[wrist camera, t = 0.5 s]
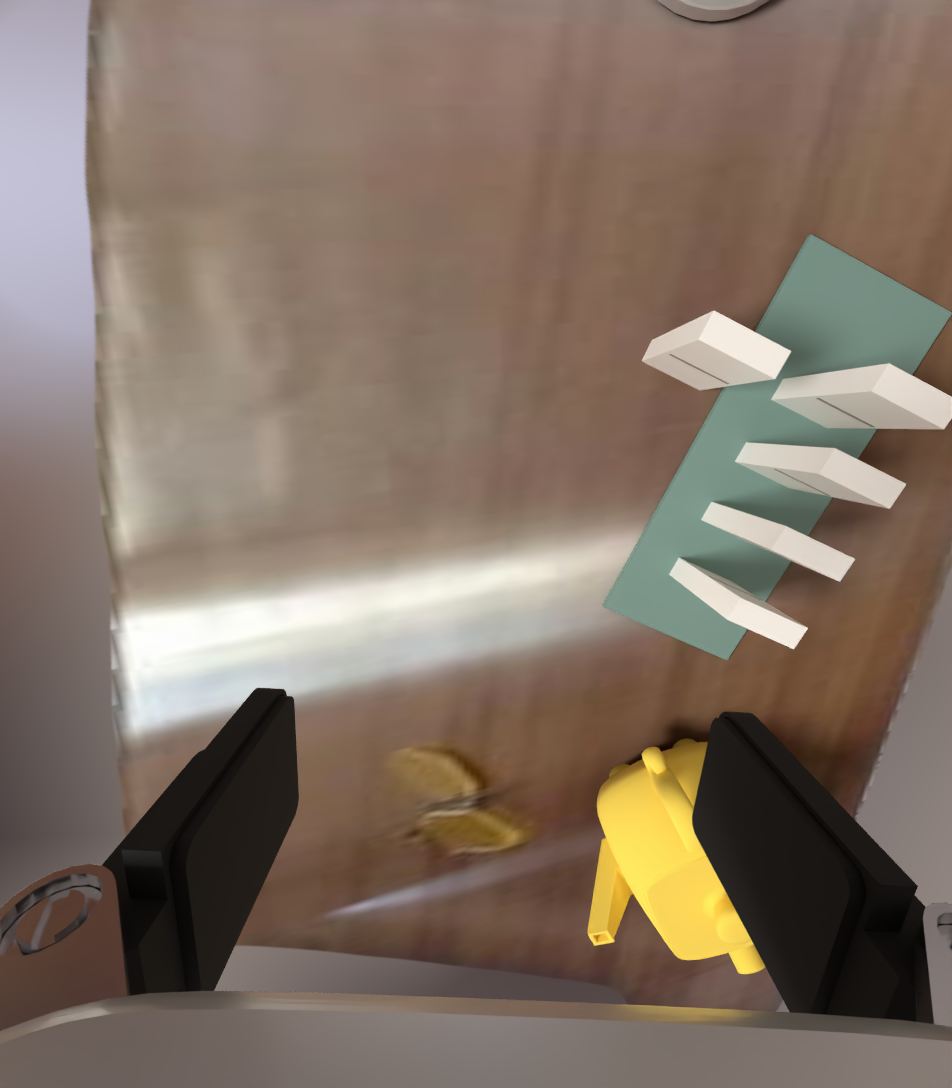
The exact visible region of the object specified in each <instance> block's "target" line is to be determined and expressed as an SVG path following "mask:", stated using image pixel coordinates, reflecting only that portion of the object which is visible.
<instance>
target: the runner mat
mask: <svg viewBox="0 0 952 1088" xmlns="http://www.w3.org/2000/svg"><path fill="white" fill-rule="evenodd" d="M951 314H952V312H950V311H948V310H946V309H944V308H943V307H941V306H939V305H937V304H935V303H934V302H932V301H930V300H928V299H926V298H925V297H923V296H921V295H919V294H918V293H916V292H914V291H912V290H910V289H909V288H907V287H905V286H903V285H901V284H900V283H898V282H896V281H894V280H892V279H891V278H889V277H887V276H885V275H883V274H882V273H880V272H878V271H876V270H874V269H873V268H871V267H869V266H867V265H866V264H864V263H862V262H860V261H858V260H857V259H855V258H853V257H851V256H849V255H848V254H846V253H844V252H842V251H840V250H839V249H837V248H835V247H833V246H831V245H830V244H828V243H826V242H824V241H823V240H821V239H819V238H817V237H815V236H814V235H812V234H811V235H809V236H808V237H807V238H806V240H805V242H804V244H803V245H802V247H801V249H800V251H799V253H798V254H797V256H796V258H795V260H794V262H793V263H792V265H791V267H790V269H789V271H788V272H787V274H786V276H785V278H784V280H783V281H782V283H781V285H780V287H779V289H778V290H777V292H776V294H775V296H774V298H773V300H772V301H771V303H770V305H769V307H768V309H767V310H766V312H765V314H764V316H763V318H762V319H761V321H760V323H759V325H758V327H757V328H756V330H755V332H756V333H758V334H760V335H761V336H763V337H765V338H767V339H769V340H771V341H773V342H775V343H777V344H779V345H781V346H782V347H784V348H786V349H788V350H790V351H791V353H790V355H789V356H788V358H787V360H786V361H785V363H784V365H783V367H782V368H781V370H780V372H779V374H778V375H777V377H776V379H773V380H766V381H759V382H753V383H746V384H739V385H733V386H726V387H724V388H723V390H722V391H721V393H720V395H719V397H718V399H717V400H716V402H715V404H714V406H713V408H712V409H711V411H710V413H709V415H708V417H707V418H706V420H705V422H704V424H703V426H702V427H701V429H700V431H699V433H698V435H697V436H696V438H695V440H694V442H693V444H692V445H691V447H690V449H689V451H688V453H687V454H686V456H685V458H684V460H683V462H682V463H681V465H680V467H679V469H678V471H677V472H676V474H675V476H674V478H673V480H672V481H671V483H670V485H669V487H668V489H667V490H666V492H665V494H664V496H663V498H662V499H661V501H660V503H659V505H658V507H657V508H656V510H655V512H654V514H653V516H652V517H651V519H650V521H649V523H648V525H647V526H646V528H645V530H644V532H643V534H642V535H641V537H640V539H639V541H638V543H637V544H636V546H635V548H634V550H633V552H632V553H631V555H630V557H629V559H628V561H627V562H626V564H625V566H624V568H623V570H622V571H621V573H620V575H619V577H618V579H617V580H616V582H615V584H614V586H613V588H612V589H611V591H610V593H609V595H608V597H607V598H606V600H605V602H604V604H603V606H604V607H605V608H607V609H610V610H612V611H614V612H617V613H619V614H621V615H624V616H626V617H628V618H630V619H633V620H635V621H637V622H640V623H642V624H644V625H647V626H649V627H651V628H654V629H656V630H658V631H660V632H663V633H665V634H667V635H670V636H672V637H674V638H677V639H679V640H681V641H684V642H686V643H688V644H690V645H693V646H695V647H697V648H700V649H702V650H704V651H707V652H709V653H711V654H713V655H716V656H718V657H720V658H723V659H725V660H728V658H729V657H730V655H731V654H732V652H733V651H734V649H735V647H736V646H737V644H738V643H739V641H740V640H741V638H742V637H743V635H744V634H745V632H746V630H747V628H745V627H743V626H740V625H738V624H736V623H734V622H731V621H729V620H727V619H726V618H724V617H723V616H722V615H720V614H719V613H718V612H717V611H715V610H714V609H713V608H711V607H710V606H709V605H708V604H706V603H705V602H704V601H702V600H701V599H700V598H699V597H697V596H696V595H695V594H693V593H692V592H691V591H690V590H688V589H687V588H686V587H684V586H683V585H682V584H681V583H679V582H678V581H677V580H675V579H674V578H673V577H672V576H670V575H669V574H670V572H671V570H672V568H673V567H674V565H675V563H676V562H677V560H678V558H681V559H684V560H686V561H688V562H690V563H692V564H695V565H697V566H699V567H701V568H703V569H706V570H708V571H710V572H712V573H714V574H717V575H719V576H721V577H723V578H725V579H728V580H730V581H732V582H734V583H735V584H737V585H738V586H740V587H742V588H743V589H745V590H747V591H748V592H750V593H751V594H753V595H755V596H756V597H758V598H760V599H761V600H763V601H764V602H765V601H766V600H767V598H768V597H769V595H770V593H771V592H772V590H773V589H774V587H775V586H776V584H777V583H778V581H779V580H780V578H781V577H782V575H783V573H784V572H785V570H786V569H787V567H788V566H789V564H790V563H791V561H790V560H787V559H785V558H783V557H781V556H779V555H777V554H774V553H772V552H770V551H767V550H765V549H763V548H760V547H758V546H756V545H754V544H751V543H749V542H747V541H745V540H743V539H741V538H739V537H736V536H734V535H732V534H730V533H728V532H726V531H724V530H721V529H719V528H717V527H715V526H713V525H711V524H709V523H706V522H704V521H702V520H701V519H702V517H703V515H704V514H705V512H706V510H707V508H708V507H709V505H710V503H711V502H714V503H717V504H720V505H723V506H726V507H729V508H732V509H735V510H738V511H741V512H745V513H748V514H751V515H754V516H757V517H760V518H763V519H766V520H769V521H772V522H775V523H778V524H781V525H784V526H787V527H789V528H791V529H793V530H795V531H797V532H799V533H802V534H804V535H806V536H808V535H809V533H810V532H811V530H812V529H813V527H814V526H815V524H816V523H817V521H818V519H819V518H820V516H821V515H822V513H823V512H824V510H825V509H826V507H827V506H828V504H829V502H830V501H831V499H832V498H833V497H829V496H825V495H820V494H815V493H810V492H805V491H800V490H795V489H790V488H788V487H786V486H784V485H782V484H780V483H777V482H775V481H773V480H771V479H769V478H767V477H765V476H763V475H761V474H759V473H757V472H755V471H753V470H751V469H749V468H747V467H745V466H743V465H741V464H738V463H736V462H735V461H736V459H737V457H738V455H739V454H740V452H741V450H742V449H743V447H744V445H745V443H746V442H749V443H764V444H779V445H794V446H809V447H824V448H836V449H838V450H840V451H842V452H844V453H846V454H848V455H850V456H852V457H854V458H856V459H858V458H859V456H860V455H861V453H862V452H863V450H864V449H865V447H866V445H867V444H868V442H869V441H870V439H871V438H872V436H873V435H874V433H875V432H876V430H877V429H864V428H826V427H824V426H822V425H820V424H818V423H816V422H814V421H812V420H810V419H808V418H806V417H804V416H802V415H800V414H798V413H796V412H794V411H792V410H790V409H788V408H786V407H784V406H782V405H780V404H779V403H777V402H775V401H773V400H771V399H772V397H773V395H774V394H775V392H776V390H777V389H778V387H779V385H780V383H781V382H782V380H783V379H786V378H793V377H800V376H806V375H813V374H820V373H827V372H833V371H840V370H847V369H854V368H861V367H867V366H874V365H881V364H888V363H889V364H891V365H893V366H895V367H897V368H899V369H901V370H903V371H904V372H906V373H908V374H910V375H913V373H914V371H915V370H916V368H917V367H918V365H919V364H920V362H921V361H922V359H923V358H924V356H925V354H926V353H927V351H928V350H929V348H930V347H931V345H932V344H933V342H934V341H935V339H936V337H937V336H938V334H939V333H940V331H941V330H942V328H943V327H944V325H945V324H946V322H947V321H948V319H949V317H950V316H951Z"/></svg>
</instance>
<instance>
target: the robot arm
mask: <svg viewBox="0 0 952 1088" xmlns="http://www.w3.org/2000/svg"><path fill="white" fill-rule="evenodd" d="M657 1H658V2H660V3H661V4H663V5H664V6H665V7H667V8H668V9H670V10H671V11H673V12H674V13H677V14H679V15H682V16H685V17H687V18H690V19H693V20H702V21H711V22H712V21H720V20H728V19H733V18H735V17H738V16H741V15H744V14H747V13H749V12H751V11H753V10H755V9H756V8H758V7H759V6H761V5H763V4H764V3H766V2H768V1H769V0H657ZM298 800H299V793H298V772H297V751H296V731H295V710H294V699H293V697H292V696H287V695H286V692H285V690H284V689H271V688H256V689H255V690H254V691H253V692H252V693H251V695H250V696H249V697H248V698H247V699H246V701H245V702H244V703H243V704H242V705H241V707H240V708H239V709H238V710H237V711H236V713H235V714H234V715H233V716H232V717H231V719H230V720H229V721H228V722H227V723H226V725H225V726H224V727H223V728H222V729H221V731H220V732H219V733H218V734H217V735H216V737H215V738H214V739H213V740H212V741H211V743H210V744H209V745H208V746H207V747H206V749H205V750H202V751H200V752H198V753H197V754H196V755H195V756H194V757H193V758H192V759H191V761H190V762H189V763H188V764H187V765H186V767H185V768H184V769H183V770H182V771H181V772H180V774H179V775H178V776H177V777H176V778H175V780H174V781H173V782H172V783H171V784H170V785H169V787H168V788H167V789H166V790H165V791H164V793H163V794H162V795H161V796H160V797H159V798H158V800H157V801H156V802H155V803H154V804H153V805H152V807H151V808H150V809H149V810H148V811H147V813H146V814H145V815H144V816H143V817H142V818H141V820H140V821H139V822H138V823H137V824H136V826H135V827H134V828H133V829H132V830H131V831H130V833H129V834H128V835H127V836H126V837H125V839H124V840H123V841H122V842H121V843H120V844H119V846H118V847H117V848H116V849H115V850H114V852H113V853H112V854H111V855H110V856H109V858H108V859H107V860H106V861H105V862H104V863H103V865H94V864H84V865H78V866H71V867H68V868H65V869H62V870H60V871H56V872H53V873H51V874H49V875H47V876H45V877H43V878H41V879H40V880H38V881H36V882H34V883H32V884H30V885H29V886H27V887H26V888H25V889H23V890H22V891H20V892H19V893H17V894H16V895H14V896H13V897H12V898H11V899H10V900H9V901H8V902H6V903H5V904H4V906H2V907H1V908H0V1088H952V904H949V903H932V904H930V905H929V906H927V907H925V906H924V905H923V904H922V903H921V902H920V901H919V900H918V899H917V897H916V896H915V895H914V894H915V892H916V889H917V887H918V886H917V885H916V884H915V883H914V882H913V881H912V880H911V879H910V878H909V877H908V875H907V874H906V873H904V872H903V870H902V869H901V868H900V867H899V866H898V865H897V864H896V863H895V862H894V861H893V860H892V859H891V858H890V857H889V856H888V855H887V853H886V852H885V851H884V850H883V849H882V848H880V846H879V845H878V844H877V843H876V842H875V841H874V840H873V839H872V838H871V837H870V836H869V835H868V834H867V832H866V831H865V830H864V829H863V828H862V827H861V826H860V825H859V824H858V823H857V822H856V821H855V820H854V819H853V818H852V817H851V816H850V815H849V814H848V813H847V812H846V810H845V809H844V808H843V807H842V806H841V805H840V804H839V803H838V802H837V801H836V800H835V799H834V798H833V797H832V796H831V795H830V794H829V793H828V792H827V791H826V790H825V788H824V787H823V786H822V785H821V784H820V783H819V782H818V781H817V780H816V779H815V778H814V777H813V776H812V775H811V774H810V773H809V772H808V771H807V770H806V769H805V768H804V766H803V765H802V764H801V763H800V762H799V761H798V760H797V759H796V758H795V757H794V756H793V755H792V754H791V753H790V752H789V751H788V750H787V749H786V748H785V747H784V746H783V744H782V743H781V742H780V741H779V740H778V739H777V738H776V737H775V736H774V735H773V734H772V733H771V732H770V731H769V730H768V729H767V728H766V727H765V726H764V725H763V724H762V722H761V721H760V720H759V719H758V718H757V717H756V716H755V715H753V714H751V713H742V712H723V713H722V714H721V715H720V716H719V718H715V719H714V720H713V722H712V725H711V730H710V735H709V739H708V744H707V748H706V753H705V758H704V762H703V767H702V772H701V776H700V781H699V786H698V790H697V795H696V800H695V804H694V809H693V814H692V825H693V829H694V833H695V835H696V837H697V839H698V841H699V843H700V845H701V846H702V848H703V850H704V852H705V854H706V856H707V858H708V860H709V861H710V863H711V865H712V867H713V869H714V871H715V873H716V875H717V876H718V878H719V880H720V882H721V884H722V886H723V888H724V890H725V891H726V893H727V895H728V897H729V899H730V901H731V903H732V905H733V906H734V908H735V910H736V912H737V914H738V916H739V918H740V920H741V921H742V923H743V925H744V927H745V929H746V931H747V933H748V935H749V936H750V938H751V940H752V942H753V944H754V946H755V948H756V950H757V952H758V953H759V955H760V957H761V959H762V961H763V963H764V965H765V967H766V968H767V970H768V972H769V974H770V976H771V978H772V980H773V982H774V983H775V985H776V987H777V989H778V991H779V993H780V995H781V997H782V998H783V1000H784V1002H785V1004H786V1006H787V1008H788V1010H789V1011H790V1012H769V1011H749V1010H728V1009H707V1008H687V1007H666V1006H645V1005H620V1004H597V1003H574V1002H551V1001H550V1002H549V1001H526V1000H501V999H477V998H450V997H422V996H421V997H420V996H393V995H365V994H336V993H335V994H334V993H308V992H304V993H303V992H240V991H239V992H238V991H214V989H215V987H216V985H217V983H218V981H219V979H220V977H221V974H222V972H223V970H224V968H225V966H226V963H227V961H228V959H229V957H230V955H231V953H232V950H233V948H234V946H235V944H236V942H237V940H238V938H239V935H240V933H241V931H242V929H243V927H244V925H245V922H246V920H247V918H248V916H249V914H250V912H251V910H252V907H253V905H254V903H255V901H256V899H257V897H258V894H259V892H260V890H261V888H262V886H263V884H264V881H265V879H266V877H267V875H268V873H269V871H270V868H271V866H272V864H273V862H274V860H275V858H276V855H277V853H278V851H279V849H280V847H281V845H282V842H283V840H284V838H285V836H286V834H287V832H288V829H289V827H290V825H291V823H292V821H293V819H294V816H295V814H296V810H297V806H298Z"/></svg>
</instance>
